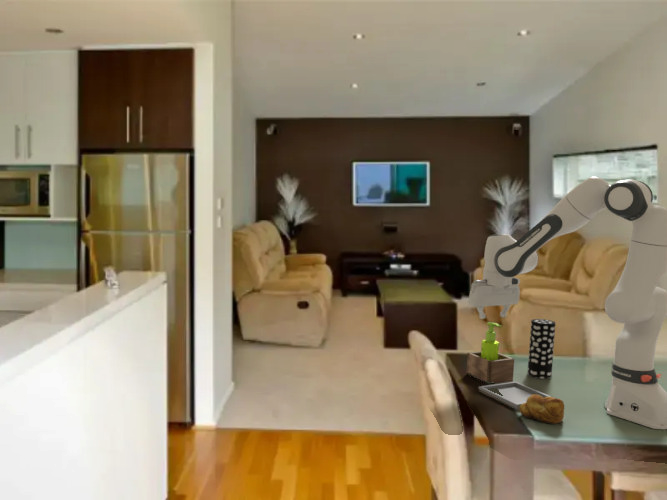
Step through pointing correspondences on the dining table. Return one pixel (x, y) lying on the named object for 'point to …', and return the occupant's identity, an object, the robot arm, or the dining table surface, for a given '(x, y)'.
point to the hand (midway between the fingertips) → (492, 317)
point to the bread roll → (543, 409)
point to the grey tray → (512, 393)
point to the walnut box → (491, 367)
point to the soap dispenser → (490, 343)
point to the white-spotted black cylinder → (541, 348)
